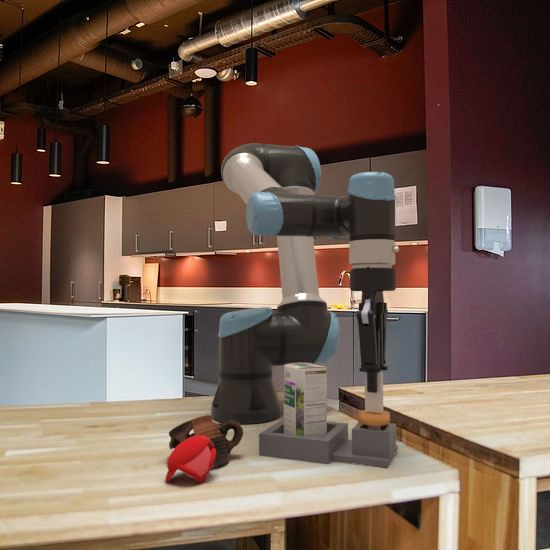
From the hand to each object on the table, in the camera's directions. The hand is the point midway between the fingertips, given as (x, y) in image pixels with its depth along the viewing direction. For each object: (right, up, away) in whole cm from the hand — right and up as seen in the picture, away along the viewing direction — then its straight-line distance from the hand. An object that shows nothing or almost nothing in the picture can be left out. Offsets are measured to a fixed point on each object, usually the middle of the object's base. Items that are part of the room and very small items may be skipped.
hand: (374, 411), depth 86 cm
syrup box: (-11, -8, +4) cm, 14 cm away
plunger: (0, -6, 0) cm, 6 cm away
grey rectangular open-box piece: (-7, -8, +3) cm, 11 cm away
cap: (-29, -8, -9) cm, 31 cm away
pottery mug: (-27, -8, -1) cm, 28 cm away
